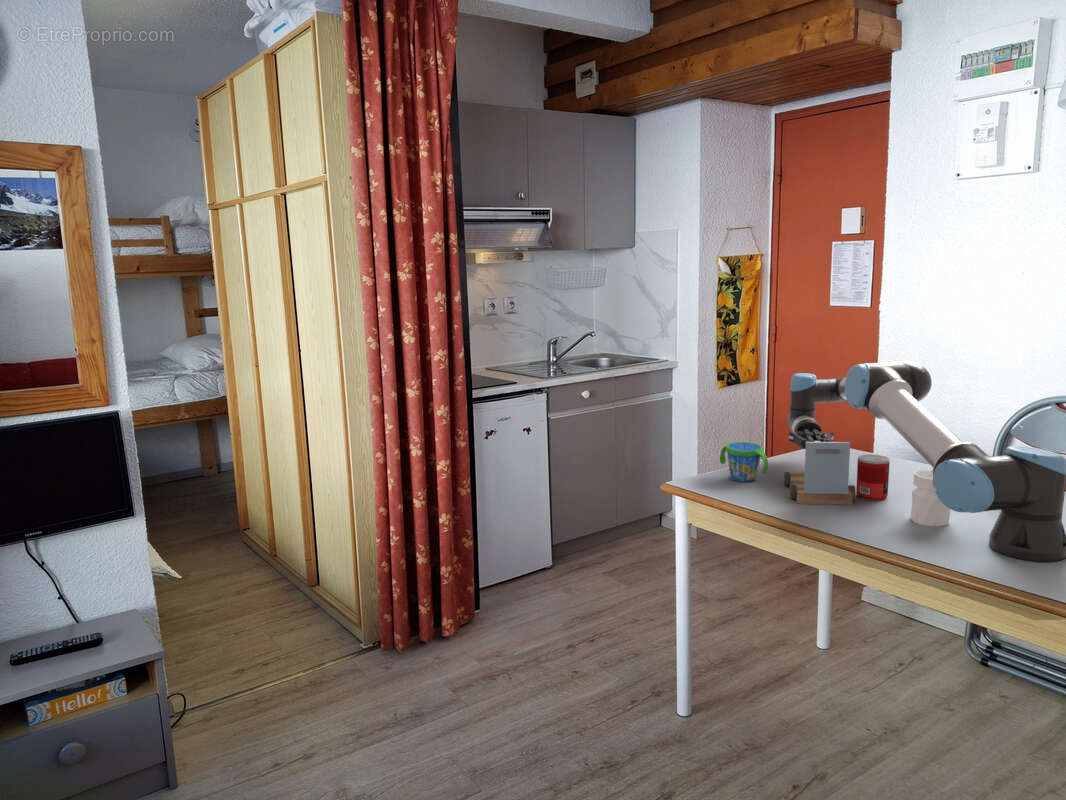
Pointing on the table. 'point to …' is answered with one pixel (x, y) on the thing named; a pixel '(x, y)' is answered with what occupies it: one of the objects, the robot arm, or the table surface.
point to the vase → (927, 501)
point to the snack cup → (744, 460)
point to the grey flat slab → (827, 467)
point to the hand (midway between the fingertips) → (821, 451)
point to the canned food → (872, 477)
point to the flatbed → (797, 492)
